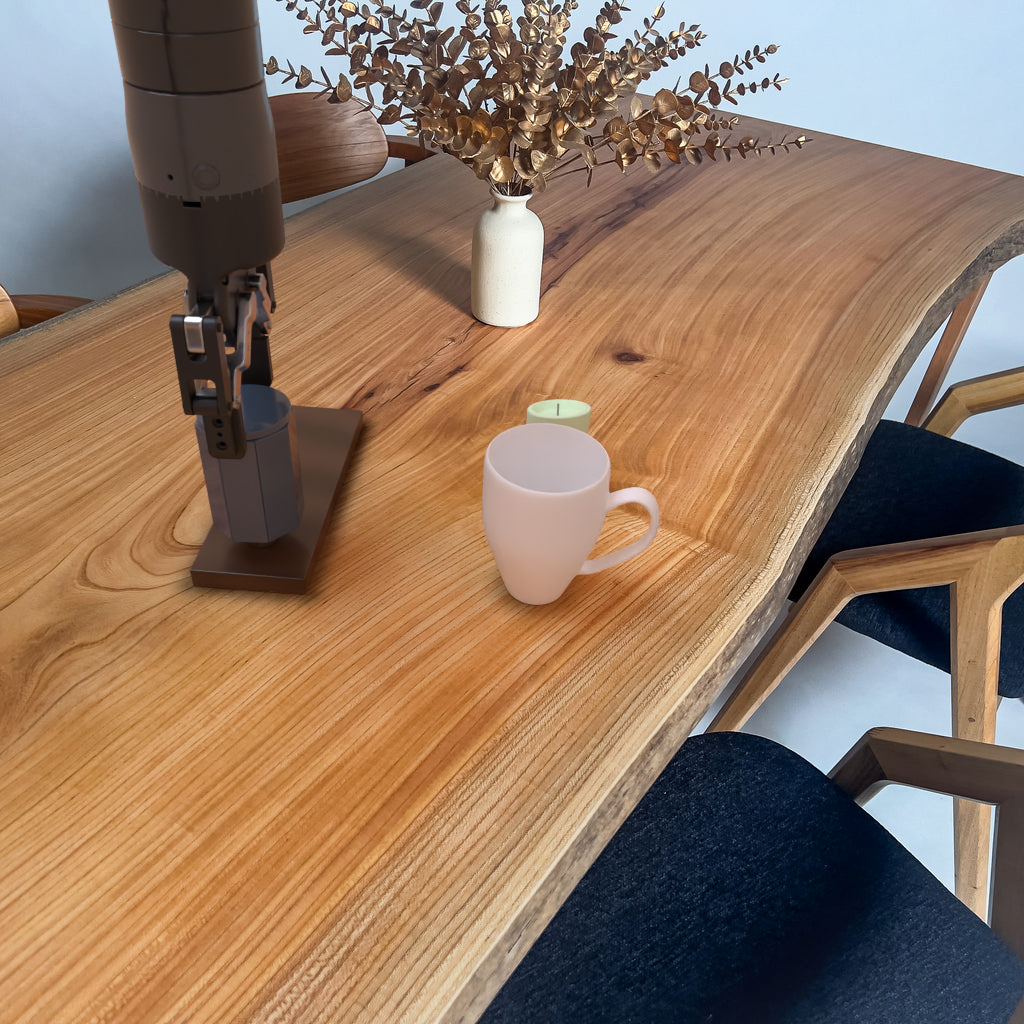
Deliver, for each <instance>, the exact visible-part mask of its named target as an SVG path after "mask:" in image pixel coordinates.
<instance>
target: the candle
mask: <svg viewBox="0 0 1024 1024" xmlns="http://www.w3.org/2000/svg"><path fill="white" fill-rule="evenodd" d="M591 416H592V407H591V406H590V404H588V403H586V402H584V401H581V400H575V399H567V398H565V399H564V398H562V399H561V398H559V399H558V398H557V399H547V400H541V401H537V402H534V403H532V404H530V405H529V406H528V407H527V409H526V419H525V424H533V423H549V424H558V425H563V426H567V427H571V428H574V429H577V430H579V431H582V432H584V433H586V434H588V435H589V429H590V424H591V423H590V422H591Z"/></svg>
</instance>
